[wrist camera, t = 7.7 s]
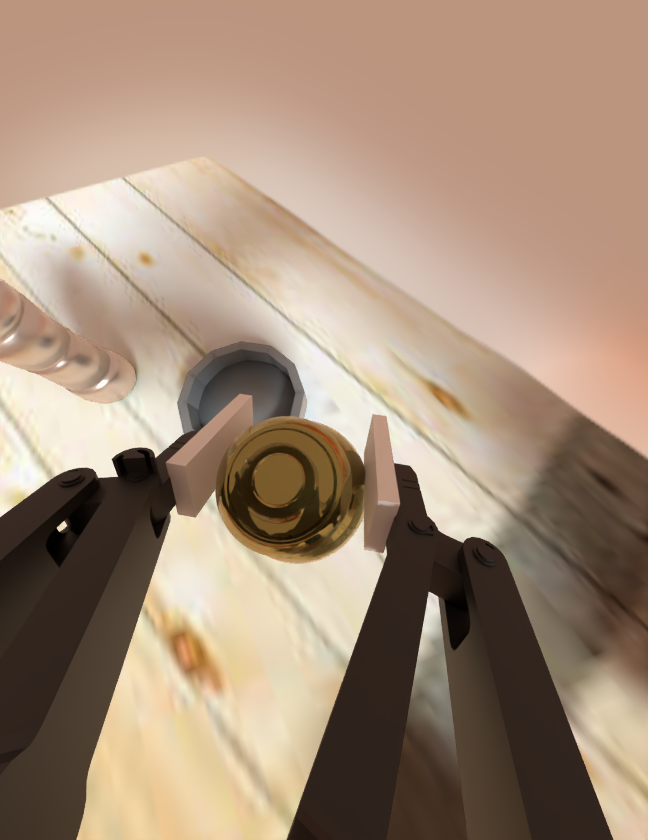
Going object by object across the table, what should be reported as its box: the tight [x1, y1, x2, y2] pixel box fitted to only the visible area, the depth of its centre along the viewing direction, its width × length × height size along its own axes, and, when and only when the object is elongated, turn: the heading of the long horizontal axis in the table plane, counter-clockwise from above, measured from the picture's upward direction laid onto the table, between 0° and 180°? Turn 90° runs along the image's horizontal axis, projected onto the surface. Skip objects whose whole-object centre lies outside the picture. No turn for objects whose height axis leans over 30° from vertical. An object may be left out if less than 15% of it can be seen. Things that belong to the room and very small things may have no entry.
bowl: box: [177, 342, 307, 434], centre depth 31 cm, size 14×14×4 cm
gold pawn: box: [216, 416, 365, 564], centre depth 13 cm, size 7×7×10 cm
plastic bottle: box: [0, 279, 136, 404], centre depth 25 cm, size 6×7×20 cm
